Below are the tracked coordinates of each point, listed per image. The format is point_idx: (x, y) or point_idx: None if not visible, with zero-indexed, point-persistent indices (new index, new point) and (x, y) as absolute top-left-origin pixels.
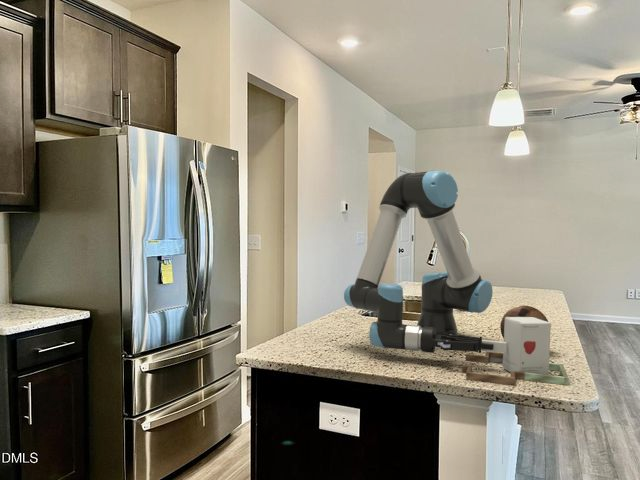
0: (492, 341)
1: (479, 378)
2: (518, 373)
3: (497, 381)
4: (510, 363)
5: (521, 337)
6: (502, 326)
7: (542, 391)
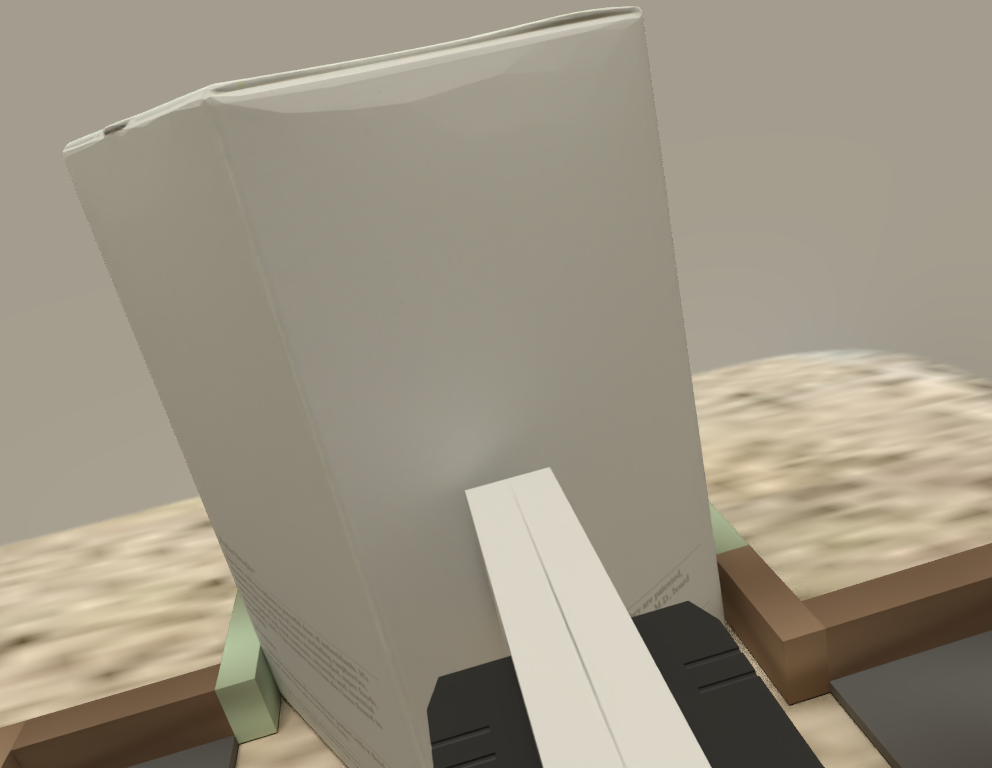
0: (573, 606)
1: None
2: (779, 587)
3: None
4: None
5: (668, 212)
6: None
7: (927, 462)
